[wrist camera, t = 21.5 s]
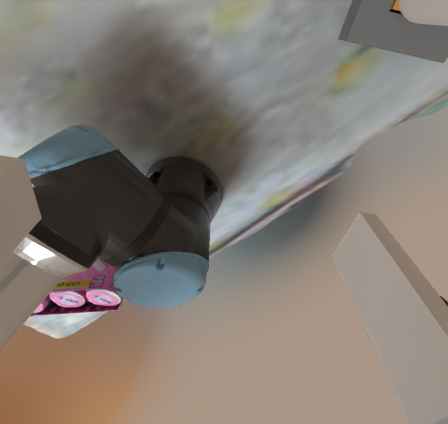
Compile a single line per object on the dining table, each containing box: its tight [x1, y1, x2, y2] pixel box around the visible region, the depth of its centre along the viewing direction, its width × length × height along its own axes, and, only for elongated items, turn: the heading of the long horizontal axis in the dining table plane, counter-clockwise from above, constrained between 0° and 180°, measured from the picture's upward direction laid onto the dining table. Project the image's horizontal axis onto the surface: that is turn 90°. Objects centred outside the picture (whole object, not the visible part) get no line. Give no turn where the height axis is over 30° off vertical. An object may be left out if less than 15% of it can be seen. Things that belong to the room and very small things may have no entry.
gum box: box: [31, 258, 124, 316], centre depth 57 cm, size 24×8×14 cm, turn 96°
